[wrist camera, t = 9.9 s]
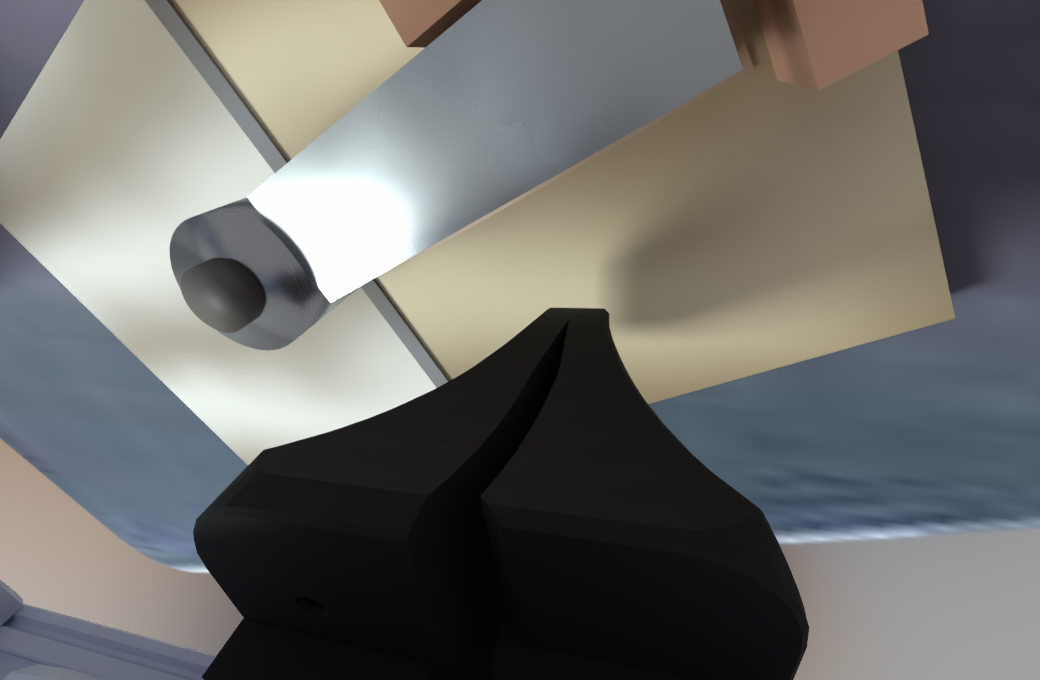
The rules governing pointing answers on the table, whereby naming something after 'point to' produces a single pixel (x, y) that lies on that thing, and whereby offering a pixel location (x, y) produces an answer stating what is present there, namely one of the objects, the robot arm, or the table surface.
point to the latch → (455, 144)
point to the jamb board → (494, 237)
